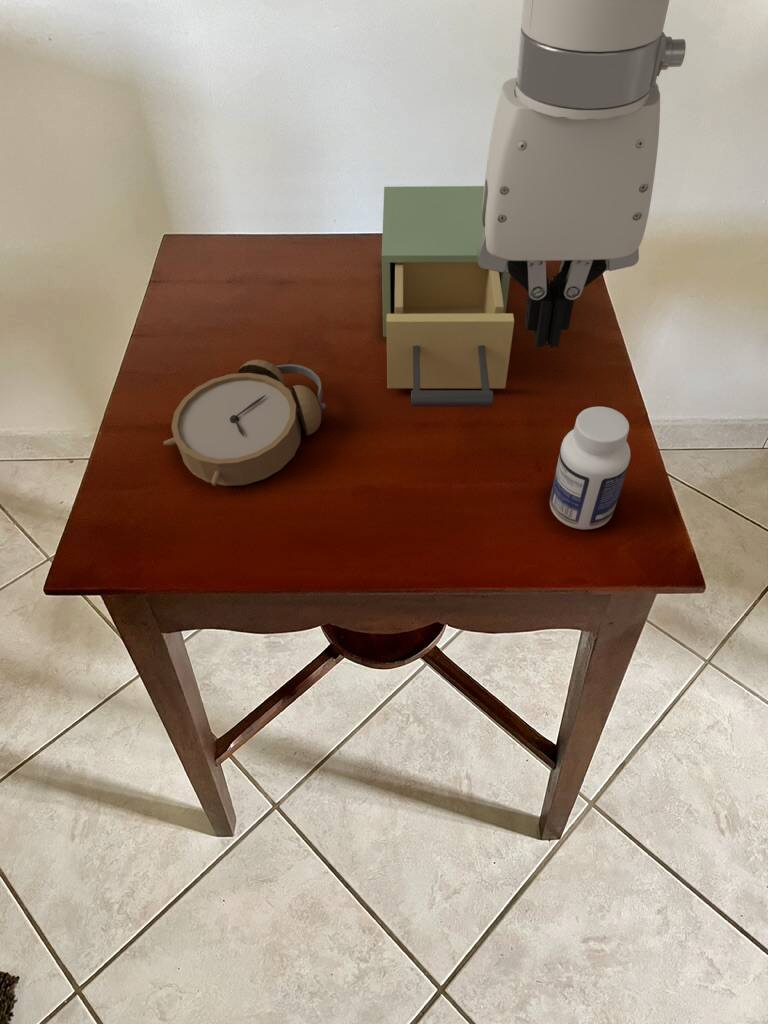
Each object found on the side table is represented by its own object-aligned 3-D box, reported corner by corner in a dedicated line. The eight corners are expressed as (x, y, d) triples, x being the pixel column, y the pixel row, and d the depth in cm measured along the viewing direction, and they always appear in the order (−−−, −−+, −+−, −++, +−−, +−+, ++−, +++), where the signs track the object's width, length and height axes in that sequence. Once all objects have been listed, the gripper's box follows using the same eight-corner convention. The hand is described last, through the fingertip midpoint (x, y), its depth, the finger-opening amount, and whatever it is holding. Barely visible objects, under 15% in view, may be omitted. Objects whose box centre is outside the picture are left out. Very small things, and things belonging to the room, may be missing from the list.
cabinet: (502, 337, 82) (512, 254, 74) (383, 337, 82) (381, 255, 75) (493, 265, 90) (501, 185, 83) (385, 265, 91) (384, 186, 83)
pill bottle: (609, 486, 68) (635, 401, 60) (615, 533, 64) (643, 450, 57) (547, 482, 68) (565, 397, 61) (549, 529, 65) (569, 446, 57)
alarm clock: (143, 423, 69) (266, 325, 74) (164, 456, 74) (279, 362, 78) (221, 487, 64) (347, 377, 69) (239, 518, 68) (356, 413, 73)
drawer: (512, 444, 70) (522, 377, 64) (386, 444, 70) (385, 377, 64) (495, 311, 83) (502, 245, 77) (389, 312, 83) (388, 246, 77)
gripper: (705, 37, 45) (637, 305, 59) (449, 44, 46) (442, 307, 60) (740, 89, 41) (657, 367, 54) (453, 96, 41) (444, 369, 55)
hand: (544, 335), depth 57 cm, fingers closed
